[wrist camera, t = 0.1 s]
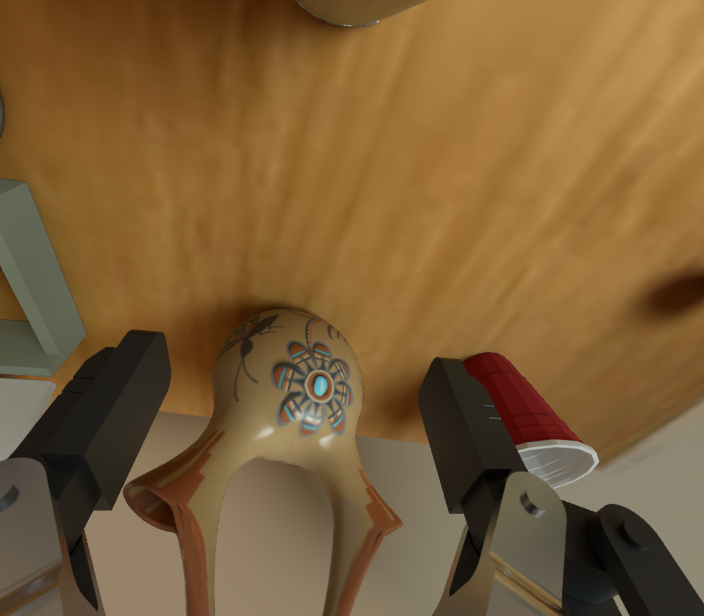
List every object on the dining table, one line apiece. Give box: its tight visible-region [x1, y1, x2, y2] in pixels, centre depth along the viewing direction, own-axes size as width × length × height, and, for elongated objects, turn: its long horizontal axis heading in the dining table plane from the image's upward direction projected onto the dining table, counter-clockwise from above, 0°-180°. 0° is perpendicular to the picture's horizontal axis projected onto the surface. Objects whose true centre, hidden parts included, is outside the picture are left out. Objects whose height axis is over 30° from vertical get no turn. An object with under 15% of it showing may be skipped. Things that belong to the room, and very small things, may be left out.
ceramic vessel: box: [123, 309, 403, 616], centre depth 22 cm, size 16×9×25 cm, turn 61°
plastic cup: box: [463, 352, 599, 489], centre depth 33 cm, size 11×11×12 cm
